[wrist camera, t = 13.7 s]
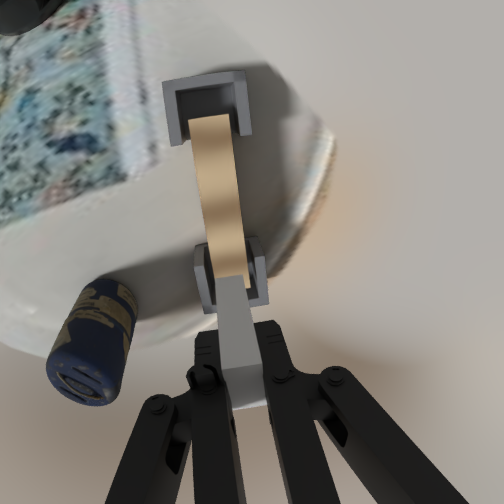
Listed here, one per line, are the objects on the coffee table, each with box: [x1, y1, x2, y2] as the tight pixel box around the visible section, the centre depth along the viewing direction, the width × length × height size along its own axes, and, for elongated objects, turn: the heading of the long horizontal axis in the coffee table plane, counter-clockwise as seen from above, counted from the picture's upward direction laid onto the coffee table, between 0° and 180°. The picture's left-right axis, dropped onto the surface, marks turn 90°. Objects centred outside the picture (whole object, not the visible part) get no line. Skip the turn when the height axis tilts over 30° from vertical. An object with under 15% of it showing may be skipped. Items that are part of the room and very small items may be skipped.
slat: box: [188, 114, 251, 288], centre depth 35 cm, size 20×4×6 cm, turn 6°
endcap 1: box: [162, 70, 252, 147], centre depth 31 cm, size 7×8×6 cm
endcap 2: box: [193, 236, 269, 314], centre depth 41 cm, size 7×8×6 cm
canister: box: [46, 279, 138, 406], centre depth 35 cm, size 10×10×18 cm
